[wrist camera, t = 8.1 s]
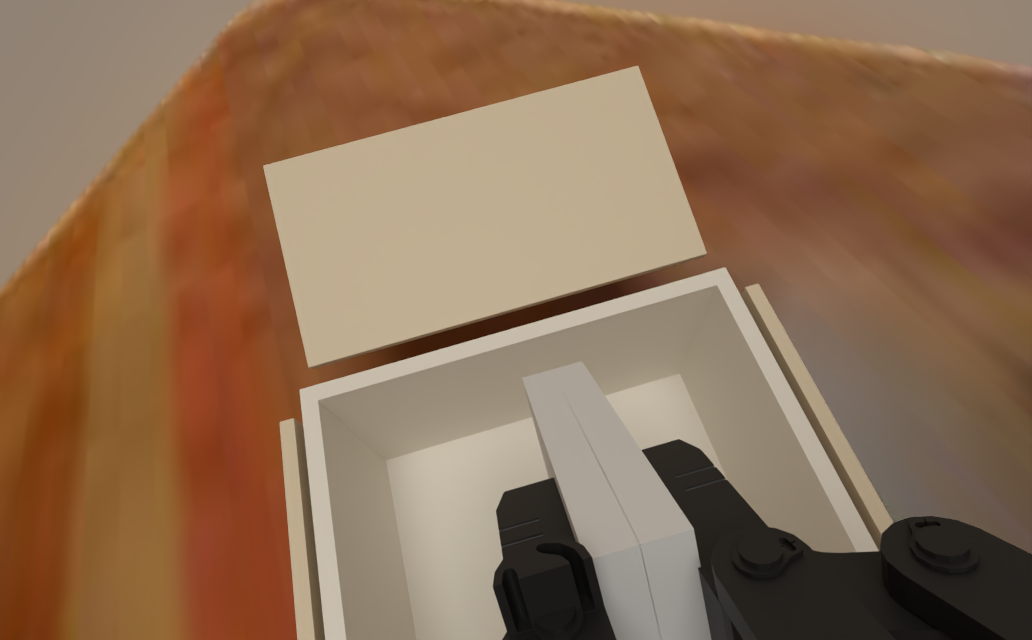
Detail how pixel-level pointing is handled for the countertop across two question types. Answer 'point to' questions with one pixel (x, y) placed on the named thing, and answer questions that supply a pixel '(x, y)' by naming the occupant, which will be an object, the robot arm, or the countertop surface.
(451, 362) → the carton
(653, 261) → the flap
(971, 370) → the countertop surface
